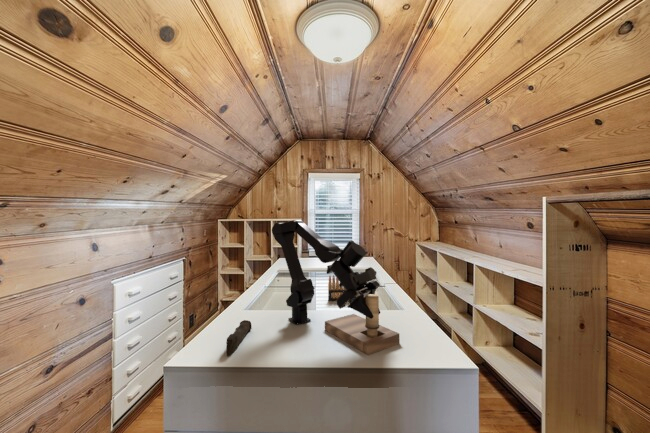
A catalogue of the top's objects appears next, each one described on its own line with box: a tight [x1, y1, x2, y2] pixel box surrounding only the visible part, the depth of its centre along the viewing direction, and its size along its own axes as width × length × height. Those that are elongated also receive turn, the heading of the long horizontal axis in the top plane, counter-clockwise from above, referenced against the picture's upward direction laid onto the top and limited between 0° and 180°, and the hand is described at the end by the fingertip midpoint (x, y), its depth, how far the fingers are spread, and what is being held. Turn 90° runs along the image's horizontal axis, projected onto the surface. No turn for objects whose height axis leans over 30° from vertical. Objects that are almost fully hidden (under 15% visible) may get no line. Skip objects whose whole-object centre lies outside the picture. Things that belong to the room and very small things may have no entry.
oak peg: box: [365, 294, 380, 338], centre depth 86 cm, size 4×4×12 cm
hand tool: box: [225, 319, 252, 357], centre depth 88 cm, size 19×4×5 cm, turn 178°
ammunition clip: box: [327, 274, 346, 302], centre depth 132 cm, size 11×2×12 cm, turn 89°
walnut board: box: [324, 313, 400, 356], centre depth 91 cm, size 22×13×3 cm, turn 34°
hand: (376, 315), depth 85 cm, fingers closed on oak peg, 4 cm apart
